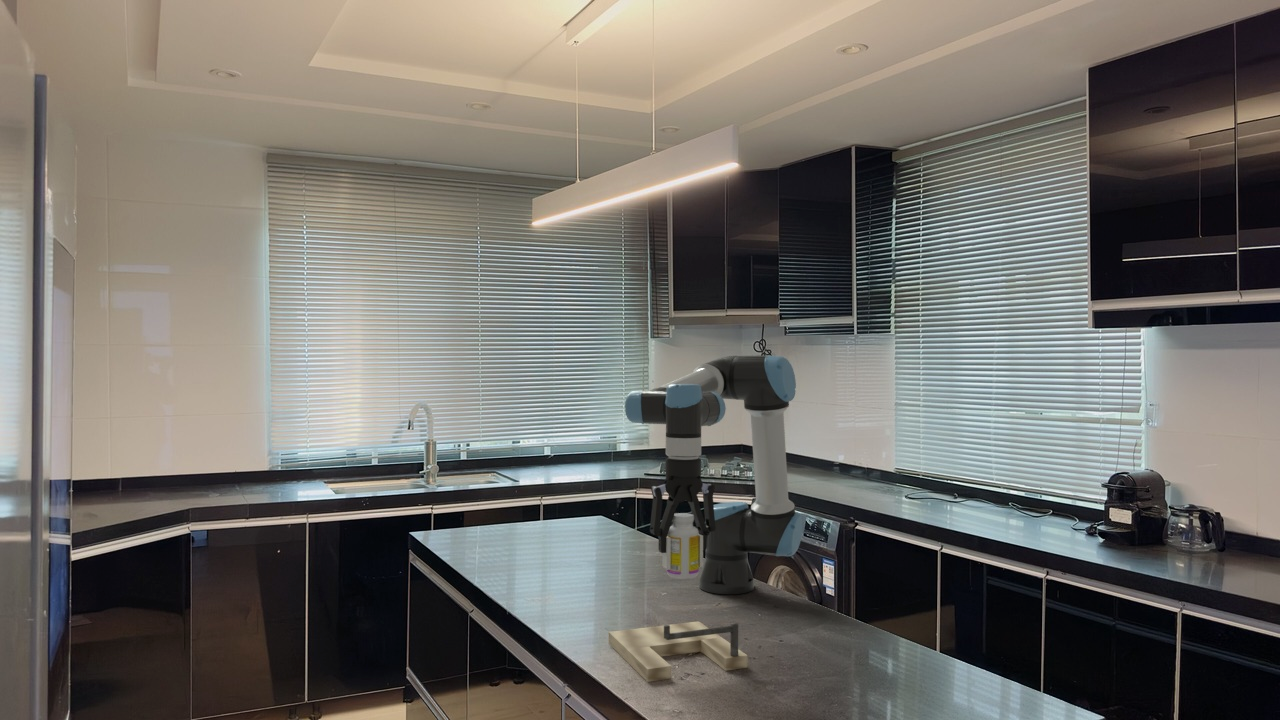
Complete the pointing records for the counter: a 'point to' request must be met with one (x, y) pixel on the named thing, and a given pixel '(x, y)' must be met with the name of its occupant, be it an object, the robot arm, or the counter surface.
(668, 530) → the robot arm
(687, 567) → the supplement bottle
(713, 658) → the wooden u-shaped stand
